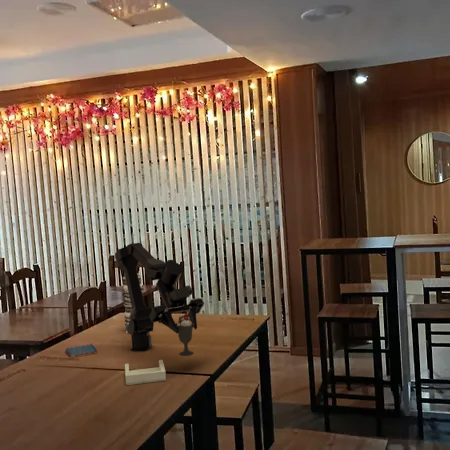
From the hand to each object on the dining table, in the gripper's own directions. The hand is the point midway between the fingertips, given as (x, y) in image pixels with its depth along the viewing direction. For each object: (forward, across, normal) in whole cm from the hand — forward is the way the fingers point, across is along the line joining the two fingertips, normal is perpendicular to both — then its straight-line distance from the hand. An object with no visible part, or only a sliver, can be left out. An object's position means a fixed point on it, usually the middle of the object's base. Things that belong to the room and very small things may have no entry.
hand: (187, 330), depth 187 cm
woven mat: (-23, -20, +44) cm, 53 cm away
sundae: (+5, 0, +7) cm, 8 cm away
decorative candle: (-33, +10, +53) cm, 63 cm away
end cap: (+6, -14, +12) cm, 20 cm away
